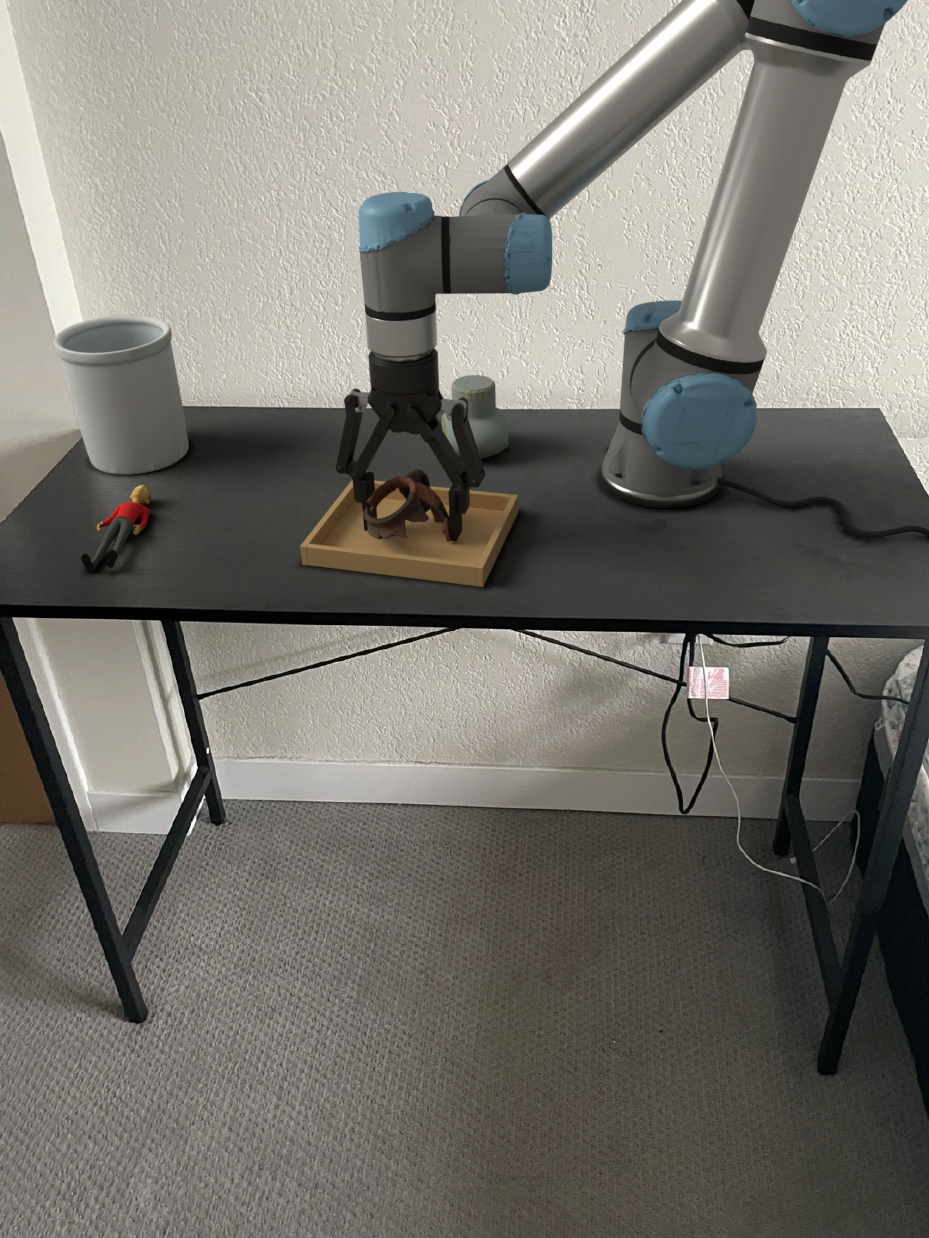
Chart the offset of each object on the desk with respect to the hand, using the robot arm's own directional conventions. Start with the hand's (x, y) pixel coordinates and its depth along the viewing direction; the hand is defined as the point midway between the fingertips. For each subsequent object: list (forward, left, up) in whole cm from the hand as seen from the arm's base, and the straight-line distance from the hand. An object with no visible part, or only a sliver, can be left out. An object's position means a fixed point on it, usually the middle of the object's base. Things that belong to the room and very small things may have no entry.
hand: (413, 530), depth 122 cm
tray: (0, 0, -1) cm, 1 cm away
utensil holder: (+45, -14, -1) cm, 47 cm away
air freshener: (-1, -25, -1) cm, 25 cm away
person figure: (+35, +7, -1) cm, 36 cm away
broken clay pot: (0, 0, 0) cm, 0 cm away
